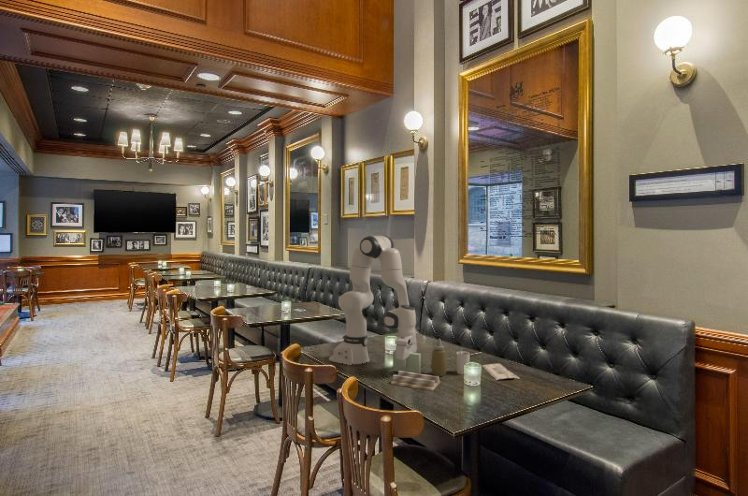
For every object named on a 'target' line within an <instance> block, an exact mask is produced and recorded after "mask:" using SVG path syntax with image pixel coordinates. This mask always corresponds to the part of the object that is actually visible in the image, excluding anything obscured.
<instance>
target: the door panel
mask: <svg viewBox="0 0 748 496" xmlns="http://www.w3.org/2000/svg"><path fill="white" fill-rule="evenodd" d="M392 371H393V372H397V373H398V371H405V372H412V373H419V374H422V353H418V352H415V353H413V352H411V353H410V354H409V357H408V358H406V367H402V362H401V360H397V358H396V349H394V351H392Z"/></svg>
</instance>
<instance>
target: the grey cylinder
mask: <svg viewBox="0 0 748 496" xmlns="http://www.w3.org/2000/svg"><path fill="white" fill-rule="evenodd" d="M470 354H471V353H470V352H468V351H456V354H455V356H456V357H455V358H456V373H457V374H458V375H462V376H463V374H464V365H465V364H466V363H469V364H470V359H471V358H470V357H471V356H470Z"/></svg>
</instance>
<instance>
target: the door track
mask: <svg viewBox="0 0 748 496" xmlns="http://www.w3.org/2000/svg"><path fill="white" fill-rule="evenodd" d="M397 373H398V374H393V375H392V381H390V382H391V383H390V384H391V385H395V386H399V387H400V386H401V387H406V388H414V389H419V390H425V391H431V392H433V391H434V390H435V389H436V388H437V386H439V385H440V384H441V380H440V376H435V375H432V374H423V373H420V374H419V373H412V372H405V371H398V372H397Z"/></svg>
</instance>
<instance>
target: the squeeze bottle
mask: <svg viewBox="0 0 748 496" xmlns="http://www.w3.org/2000/svg"><path fill="white" fill-rule="evenodd" d="M430 368H431V372H432V374H433V375H432V376H439V377H444V376H445V375H446V372H447V371H448V361H447V351H446V350H445V346H444V345H443V344H442V340H441V338H438V339H437V343H436V344H435V345H434V349H433V350H432V354H431V364H430Z"/></svg>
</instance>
